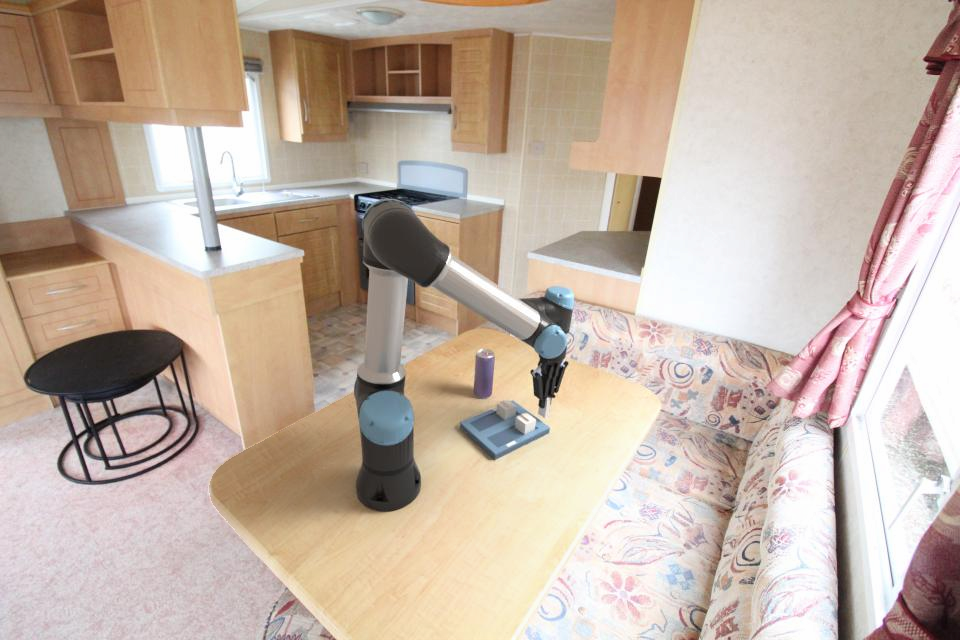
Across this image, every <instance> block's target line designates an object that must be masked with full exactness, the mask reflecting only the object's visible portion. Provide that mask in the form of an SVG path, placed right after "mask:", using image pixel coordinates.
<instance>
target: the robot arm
mask: <svg viewBox="0 0 960 640" xmlns="http://www.w3.org/2000/svg"><path fill="white" fill-rule="evenodd" d="M361 228H362V232H363V249H362V250H363V251H362V253H363V254H362V263H363V264H364V266H366V268H367V269H368V270H369V271H368V273H369V276H368V288H367V289H368V290H367V291H368V293H367V309H366V323H365V326H366V327H365V340H364V341H365V343H364V345H365V346H364V359H363V360H364V362H362V363H360V364H359V365H358V367H357V372H356V378H355V382H354V386H353V395H354V398H355V404H356V410H357V411H356V413H357V418H358V426H359V432H360V434H359V435H360V444H361V445H360V447H361V458H362V459H361V460H362V461H361V462H362V463H361V465H360V468H359V471H358V475H357V478H356V482H355V488H356V489H355V490H356V496H357V499H358V500H359V501H360V503H362V504H363V505H364V506H365V507H367V508H368V509H371V510H374V511H378V512H391V511H396V510H397V511H398V510H399V509H403V508H406V506H408V505H410V504H411V503H412V502H414V500H416V498H417V497H418V496H419V494H420V492H421V488H422V476H421V475H422V474H421V471H420V470H419V468H418V465H417V463H416V460H415V458H414V454H415V452H414V443H415V442H414V438H415V436H414V425H415V414H414V412H415V411H414V408H413V405H412V403H411V401H410V399H409V398H408V397H407V396H405V386H406V374H407V372H406V371H407V370H406V368H405V366H404V365H402V364H401V361H402V359H401V358H402V351H403V350H402V349H403V338H404V328H405V327H404V326H405V317H406V307H407V295H408V285H409V283H408V282H409V281H411V282H413V283H415V284H417V285H418V286H420V287H421V288H423V289H427V288H433V289H435V290H437V291H439V292H440V293H441V294H443V295H445V296H447V297H449V298H450V299H452V300H453V301H455V302H456V303H458V304H461V306H464V307H465V308H466V309H469V310H470V311H472V312H473V313H475V314H477V315H478V316H480V317H482V318H483V319H485V320H487V321H489V322H490V323H492V324H494V325H495V326H497V327H498V328H500V329H502V330H504V331H505V332H507V333H509V334H510V335H512V336H513V337H515V338H517V339H519V340H520V341H522V342H523V343H524V344H526V345H528V346H530V347H531V348H532V349H534V351H535V353H536V354H537V355H538V356H539V361H538V362H537V367H536V368H535V369H534V368H532V369H531V370H530V374H531V376H532V385H533V396H534V397H535V398H537V399H538V404H537V405H538V413H537V414H538V415H540V417H542V418H543V419H547V418H549V413H550V410H551V409H550V406H551V404H552V399H555V398H556V397H557V396H556V395H555V394H558V392H559V390H560V388H561V384H562V381H563V378H564V375H565V372H566V369H567V368H568V366H569V364H570V363H569V361H567V360H565V358H566V357H567V349H568V342H569V337H570V336H569V333H570V330H571V324H572V323H571V322H572V317H573V311H574V305H575V294H574V292H573V291H572V290H571V289H570V288H567V287H565V286H559V285H557V286H550V287H548V288H546V290H545V293H544V296H539V297H525V298H518V297H516V296H515V295H514V294H512V293H510V292H508V291H507V290H506V289H504V288H503V287H501V286H500V285H498V284H497V283H495V282H494V281H492V280H491V279H489V278H488V277H486V276H484V275H483V274H482V273H480V272H479V271H477V270H475V269H474V268H473V267H471V266H470V265H467V263H465V262H463V261H462V260H460V259H459V258H458V257H456V256H455V255H453V254H452V249H451V247H450V246H449V245H448V244H446V243H445V242H443V241H442V240H440V239H439V238H438V237H437V236H436V235H434V234H433V232H432V231H430V229H428V227H427V226H426V225H425V224H424V223H423V221H422V220H421V219H420V218H419V217H418V215H416V213H415V211H414V209H412V207H411V206H410V205H408V204H407V203H405V202H403V201H400V200H399V199H396V198H383V199H379V200H376V201H375V202H372V204H371V205H369V207H367V209H366V211H365V212H364V215H363V218H362V221H361Z"/></svg>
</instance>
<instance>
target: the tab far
mask: <svg viewBox="0 0 960 640" xmlns="http://www.w3.org/2000/svg"><path fill="white" fill-rule="evenodd" d="M511 401H512V400H509V399H508V398H507V399H503V400H502V401H500V402H497V403H496V407H497V411H496V414H498V415H499V416H500V417H502V418H503V419H504V420H507V419H509V418H511V417H514V416H515V414H516V405H515V404H513V403H512V402H511Z"/></svg>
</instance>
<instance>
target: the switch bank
mask: <svg viewBox="0 0 960 640" xmlns="http://www.w3.org/2000/svg"><path fill="white" fill-rule="evenodd" d="M510 401H511V402H512V403H513V404H515V405H516V414H515V416H514V417H511V418H509V419H507V420H504V419H503V418H502V417H500V416H499V415H498V414H496V411H497V406H496V407H494V408H493V407H492V408H491V409H488V410H486V411H483V412H481V413H479V414H476V415H474V416H472V417H469V418H467V419H464V420H462V421H460V422H459V428H460V430H462V432H464V433H465V434H466V435H467V436H469V437H470V439H472V440H473V441H474V442H475V444H477V445H478V446H479V447H480V448H481V449H483V451H484V452H486V453H487V454H488V455H489V456H490V457H491V458H492V459H494V461H496V460H498V459H500V458H502V457H504V456H506V455H508V454H511V453H512V452H515V451H516V450H519V449H520V448H522V447H524V446H526V445H528V444H530V443H532V442H534V441H536V440H538V439H540V438H543V437H544V436H546V435H549V434H550V430H551V427H550V426H549V425H547V424H546V423H545V422H543V421H542V420H541V419H539V418H538V417H536V416H535V415H534V414H532V413H531V412H530V411H528V410H527V409H526V408H524V407H523V406H522V405H520V404H519V403H517V402H516V401H515V400H514V399H513V400H510ZM526 412H527V413H528V414H529V415H531V416H532V417H533V418H535V419H536V425H535V430H533V431H531V432H529V433H527V434H525V435H524V434H523V433H522V432H520V431H519V430H518V429H517V428H515V422H516V417H517V416H520V415H521V414H523V413H526Z"/></svg>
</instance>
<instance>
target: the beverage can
mask: <svg viewBox="0 0 960 640" xmlns="http://www.w3.org/2000/svg"><path fill="white" fill-rule="evenodd" d="M495 358H496V356H495V351H493V350H491V349H488V348H481V349H478V350H477V351H476V353H475V358H474V359H475V362H474V374H473V375H474V376H473V377H474V380H473V394H474V396H475V397H476V398H478V399H481V400H482V399H483V400H485V399H488V398H490V397H491V396H492V395H493V386H494V374H495V373H494V372H495V362H496V361H495V360H496V359H495Z"/></svg>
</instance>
